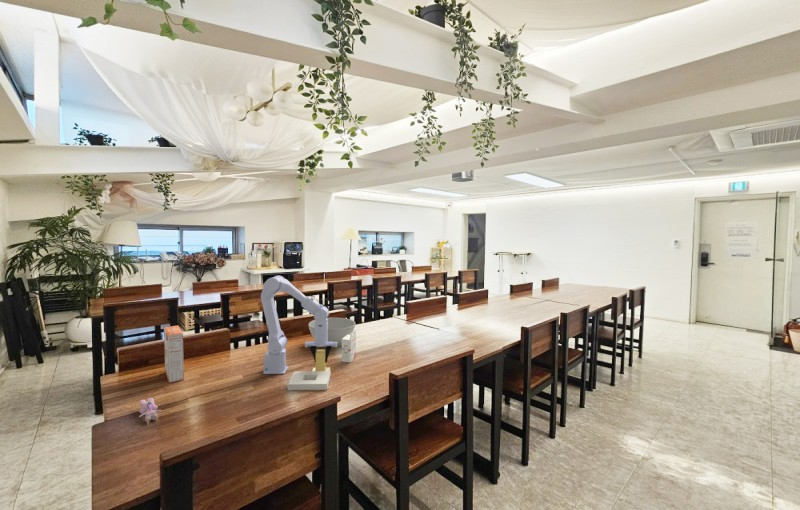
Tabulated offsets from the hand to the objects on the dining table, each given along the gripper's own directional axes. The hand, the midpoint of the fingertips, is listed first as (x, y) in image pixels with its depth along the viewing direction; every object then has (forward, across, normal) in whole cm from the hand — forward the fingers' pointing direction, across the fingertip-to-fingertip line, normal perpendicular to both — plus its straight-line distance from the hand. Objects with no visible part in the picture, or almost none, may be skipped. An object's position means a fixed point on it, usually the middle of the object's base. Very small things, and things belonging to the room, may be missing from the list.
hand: (321, 361), depth 161 cm
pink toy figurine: (+5, -54, -36) cm, 65 cm away
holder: (+5, -3, -12) cm, 13 cm away
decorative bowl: (+5, +1, +40) cm, 41 cm away
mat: (+5, 0, 0) cm, 5 cm away
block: (+4, 0, 0) cm, 4 cm away
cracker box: (+5, -63, -4) cm, 63 cm away
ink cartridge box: (+5, +12, +16) cm, 20 cm away
